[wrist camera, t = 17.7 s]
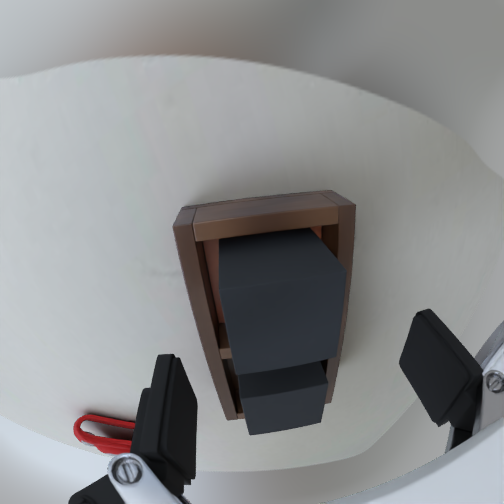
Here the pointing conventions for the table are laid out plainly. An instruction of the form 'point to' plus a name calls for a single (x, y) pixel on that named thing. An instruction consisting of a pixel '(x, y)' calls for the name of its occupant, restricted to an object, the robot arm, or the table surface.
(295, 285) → the dark grey block
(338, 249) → the frame
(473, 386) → the robot arm
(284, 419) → the dark grey cube
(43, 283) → the table surface
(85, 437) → the tracker holder
